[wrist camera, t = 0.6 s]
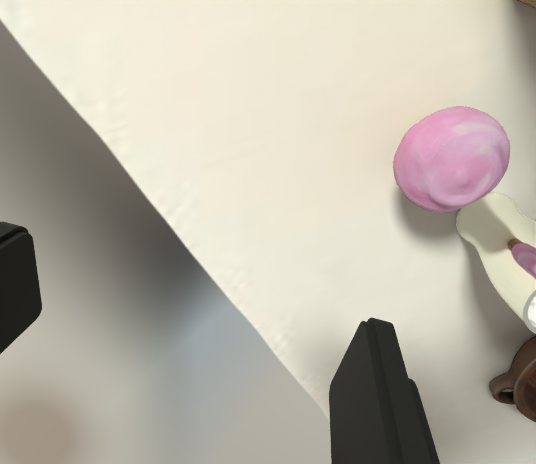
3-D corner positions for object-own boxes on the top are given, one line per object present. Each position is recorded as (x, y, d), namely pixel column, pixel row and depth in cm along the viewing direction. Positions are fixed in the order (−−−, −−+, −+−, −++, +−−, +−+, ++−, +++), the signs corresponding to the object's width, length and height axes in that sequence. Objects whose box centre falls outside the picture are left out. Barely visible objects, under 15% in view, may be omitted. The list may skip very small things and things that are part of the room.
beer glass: (445, 244, 40) (508, 339, 27) (458, 188, 37) (538, 265, 24) (509, 246, 39) (607, 345, 26) (529, 188, 36) (652, 269, 23)
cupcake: (413, 199, 38) (443, 244, 29) (365, 141, 36) (381, 171, 27) (492, 145, 34) (552, 177, 26) (443, 76, 32) (491, 87, 23)
